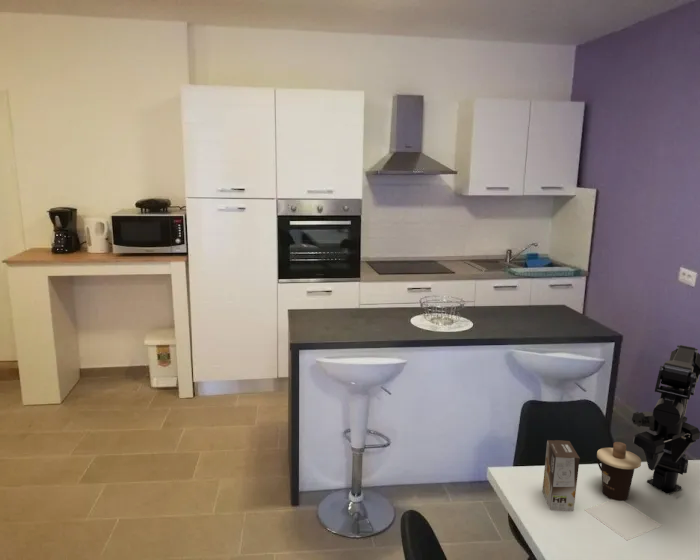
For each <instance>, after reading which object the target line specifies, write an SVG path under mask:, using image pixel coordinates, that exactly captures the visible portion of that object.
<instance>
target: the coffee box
mask: <svg viewBox="0 0 700 560" xmlns="http://www.w3.org/2000/svg"><path fill="white" fill-rule="evenodd" d="M580 459H581V458H580V456H579V454H578V453H577V451H576V450H575V448H574V446H573V444H572V443H571V441H570V440H560V439H559V440H558V439H554V440H550V439H547V441H546V450H545V459H544V460H545V461H544V471H543V480H542V494H543V497H544V498H545V501H546V503H547V505H548V508H549V510H550V511H559V512H574V510H575V509H574V508H575V502H576V494H577V485H578V478H579V477H578V476H579V468H580V467H579V466H580Z"/></svg>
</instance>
